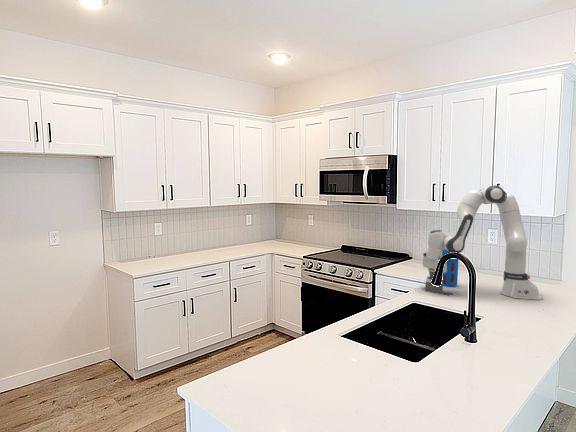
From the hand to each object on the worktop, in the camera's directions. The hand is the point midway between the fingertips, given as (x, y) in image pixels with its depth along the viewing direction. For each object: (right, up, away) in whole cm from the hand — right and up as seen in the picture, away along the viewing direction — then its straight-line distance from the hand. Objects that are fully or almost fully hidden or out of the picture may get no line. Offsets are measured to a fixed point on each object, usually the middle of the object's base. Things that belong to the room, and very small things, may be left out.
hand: (434, 276), depth 252 cm
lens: (0, -3, 0) cm, 3 cm away
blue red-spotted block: (+16, -8, +16) cm, 24 cm away
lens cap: (+7, -10, -7) cm, 14 cm away
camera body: (0, -9, +1) cm, 9 cm away
